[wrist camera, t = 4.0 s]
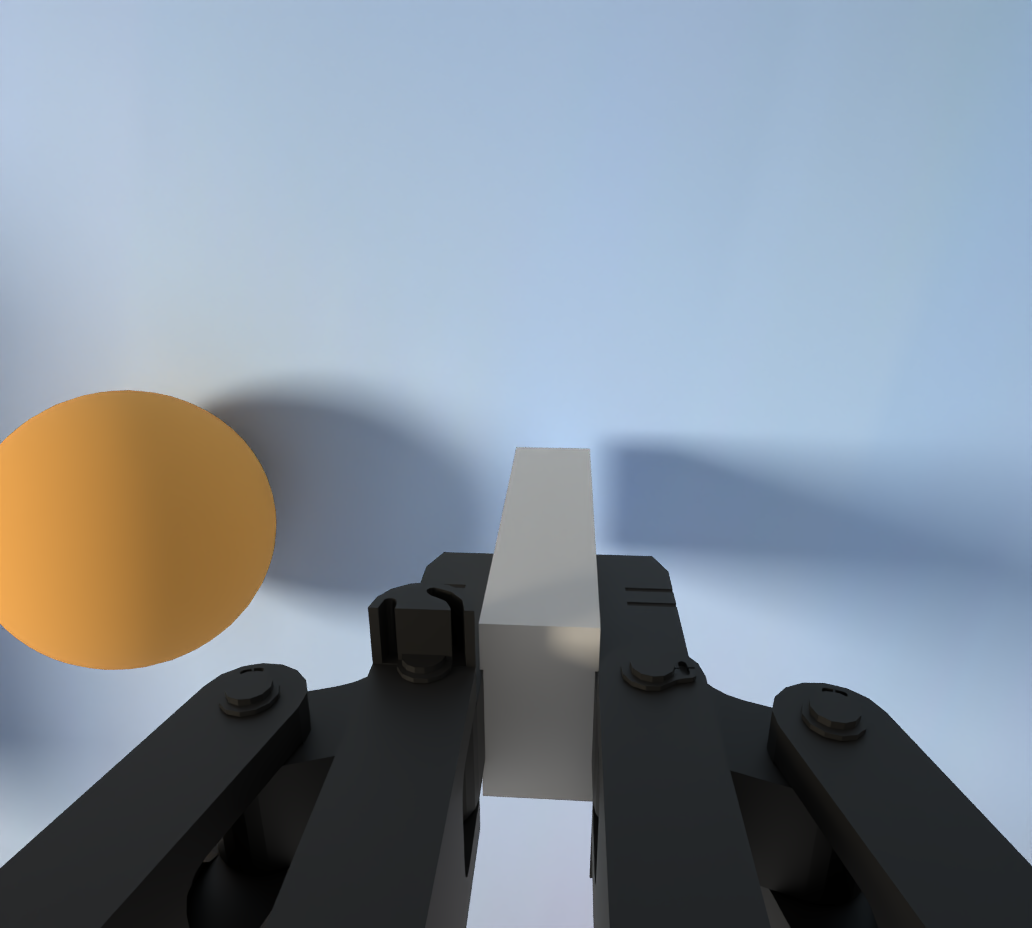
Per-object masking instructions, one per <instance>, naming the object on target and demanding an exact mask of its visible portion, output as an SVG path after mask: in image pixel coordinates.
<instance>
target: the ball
mask: <svg viewBox="0 0 1032 928" xmlns="http://www.w3.org/2000/svg"><path fill="white" fill-rule="evenodd" d="M275 536H276V510H275V504H274V499H273V494H272V491H271V488H270V485H269V482H268V479H267V476H266V474H265V472H264V470H263V468H262V466H261V464H260V462H259V461H258V459H257V457H256V456H255V454H254V453H253V451H252V450H251V449H250V447H249V446H248V445H247V444H246V442H245V441H244V440H243V439H242V438H241V437H240V436H239V435H238V434H237V433H236V432H235V431H234V430H233V429H232V428H231V427H229V426H228V425H227V424H225V423H224V422H223V421H222V420H220V419H219V418H217V417H216V416H214V415H212V414H211V413H209V412H208V411H206V410H204V409H202V408H200V407H197V406H195V405H193V404H191V403H189V402H186V401H183V400H180V399H178V398H175V397H172V396H167V395H163V394H158V393H152V392H143V391H131V390H124V391H108V392H99V393H94V394H89V395H84V396H80V397H77V398H74V399H71V400H68V401H65V402H62V403H60V404H57V405H54V406H53V407H51V408H49V409H47V410H45V411H43V412H41V413H40V414H38V415H36V416H34V417H32V418H31V419H29V420H28V421H26V422H25V423H24V424H22V425H21V426H20V427H19V428H17V429H16V430H15V431H14V432H12V433H11V434H10V435H9V436H8V437H7V438H6V439H5V440H4V441H3V442H2V443H1V444H0V624H1V625H2V626H3V627H4V628H5V629H6V630H7V631H8V632H10V633H11V634H12V635H13V636H14V637H16V638H17V639H18V640H20V641H21V642H23V643H24V644H26V645H27V646H28V647H30V648H32V649H34V650H36V651H37V652H39V653H41V654H43V655H46V656H48V657H50V658H53V659H55V660H58V661H61V662H64V663H68V664H72V665H77V666H82V667H87V668H94V669H104V670H116V669H133V668H141V667H147V666H151V665H155V664H158V663H162V662H166V661H170V660H173V659H175V658H178V657H180V656H182V655H185V654H187V653H189V652H191V651H193V650H195V649H197V648H199V647H201V646H202V645H204V644H206V643H207V642H209V641H211V640H212V639H213V638H215V637H216V636H217V635H219V634H220V633H221V632H223V631H224V630H225V629H226V628H227V627H229V626H230V625H231V624H232V623H233V622H234V621H235V620H236V619H237V618H238V616H239V615H240V614H241V613H242V612H243V611H244V610H245V609H246V607H247V606H248V605H249V604H250V602H251V600H252V599H253V597H254V596H255V594H256V592H257V591H258V589H259V588H260V586H261V584H262V583H263V580H264V578H265V575H266V573H267V571H268V568H269V565H270V562H271V559H272V555H273V551H274V546H275Z"/></svg>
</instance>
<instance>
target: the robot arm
mask: <svg viewBox="0 0 1032 928" xmlns="http://www.w3.org/2000/svg"><path fill="white" fill-rule="evenodd" d="M368 612H369V624H370V636H371V648H372V660H373V664H372V667H371V669H370V672H369V674H368V677H366V678H363V679H361V680H358V681H356V682H353V683H349V684H345V685H341V686H336V687H331V688H325V689H319V690H313V691H307V684H306V680H305V679H304V677H303V676H302V675H301V674H300V673H299V672H298V671H297V670H295V669H292V668H290V667H287V666H285V665H281V664H266V663H262V664H254V665H248V666H243V667H240V668H237V669H235V670H232V671H229V672H227V673H224V674H221V675H220V676H218V677H217V678H215V679H214V680H213V681H211V682H210V683H208V684H207V685H205V686H204V687H203V688H202V689H200V690H199V691H198V692H197V693H196V694H195V695H194V696H193V697H191V698H190V699H189V700H188V701H187V702H186V703H185V704H184V705H183V706H181V707H180V708H179V709H178V710H177V711H176V712H175V713H174V714H172V715H171V716H170V717H169V718H168V719H167V720H166V721H165V722H164V723H162V724H161V725H160V726H159V727H158V728H157V729H156V730H155V731H153V732H152V733H151V734H150V735H149V736H148V737H147V738H146V739H144V740H143V741H142V742H141V743H140V744H139V745H138V746H137V747H136V748H134V749H133V750H132V751H131V752H130V753H129V754H128V755H127V756H125V757H124V758H123V759H122V760H121V761H120V762H119V763H118V764H116V765H115V766H114V767H113V768H112V769H111V770H110V771H109V772H108V773H106V774H105V775H104V776H103V777H102V778H101V779H100V780H99V781H97V782H96V783H95V784H94V785H93V786H92V787H91V788H90V789H89V790H87V791H86V792H85V793H84V794H83V795H82V796H81V797H80V798H78V799H77V800H76V801H75V802H74V803H73V804H72V805H71V806H69V807H68V808H67V809H66V810H65V811H64V812H63V813H62V814H61V815H59V816H58V817H57V818H56V819H55V820H54V821H53V822H52V823H50V824H49V825H48V826H47V827H46V828H45V829H44V830H43V831H41V832H40V833H39V834H38V835H37V836H36V837H35V838H34V839H33V840H31V841H30V842H29V843H28V844H27V845H26V846H25V847H24V848H22V849H21V850H20V851H19V852H18V853H17V854H16V855H15V856H14V857H12V858H11V859H10V860H9V861H8V862H7V863H6V864H5V865H3V866H2V867H1V868H0V928H466V925H467V918H468V911H469V903H470V896H471V889H472V882H473V875H474V868H475V861H476V854H477V847H478V839H479V832H480V804H479V797H480V790H481V784H482V777H483V796H497V797H516V798H536V799H555V800H574V801H593V809H592V833H591V857H590V878H593V918H594V928H1032V866H1031V864H1030V863H1029V862H1028V861H1027V860H1026V859H1025V858H1024V857H1023V856H1022V855H1021V854H1020V853H1019V852H1018V851H1017V850H1016V849H1015V848H1014V847H1013V845H1012V844H1011V843H1010V842H1009V841H1008V840H1007V839H1006V838H1005V837H1004V836H1003V835H1002V834H1001V833H1000V832H999V831H998V830H997V829H996V828H995V827H994V825H993V824H992V823H991V822H990V821H989V820H988V819H987V818H986V817H985V816H984V815H983V814H982V813H981V812H980V811H979V810H978V809H977V808H976V806H975V805H974V804H973V803H972V802H971V801H970V800H969V799H968V798H967V797H966V796H965V795H964V794H963V793H962V792H961V791H960V790H959V789H958V787H957V786H956V785H955V784H954V783H953V782H952V781H951V780H950V779H949V778H948V777H947V776H946V775H945V774H944V773H943V772H942V771H941V770H940V768H939V767H938V766H937V765H936V764H935V763H934V762H933V761H932V760H931V759H930V758H929V757H928V756H927V755H926V754H925V753H924V752H923V751H922V749H921V748H920V747H919V746H918V745H917V744H916V743H915V742H914V741H913V740H912V739H911V738H910V737H909V736H908V735H907V734H906V733H905V732H904V731H903V729H902V728H901V727H900V726H899V725H898V724H897V723H896V722H895V721H894V720H893V719H892V718H891V717H890V716H889V715H888V714H887V713H886V712H885V711H884V710H883V709H881V708H880V707H879V706H878V705H876V704H875V703H874V702H873V701H871V700H870V699H869V698H867V697H864V696H862V695H860V694H858V693H856V692H854V691H852V690H849V689H847V688H843V687H839V686H834V685H830V684H826V683H800V684H797V685H793V686H790V687H786V688H785V689H783V690H782V691H781V692H780V693H779V694H778V695H777V696H775V698H774V703H773V708H771V707H767V706H763V705H759V704H755V703H751V702H748V701H744V700H741V699H738V698H735V697H732V696H729V695H726V694H724V693H722V692H721V691H719V690H717V689H715V688H713V687H712V686H710V685H709V684H707V680H706V676H705V675H704V673H703V671H702V669H701V668H700V666H699V664H698V663H696V662H695V661H694V660H693V659H691V658H690V657H689V656H688V652H687V647H686V643H685V639H684V635H683V631H682V627H681V623H680V618H679V614H678V610H677V607H676V602H675V598H674V593H673V592H672V585H671V581H670V577H669V573H668V571H667V570H666V569H665V568H664V567H663V566H662V565H661V564H660V563H659V562H658V561H657V560H656V559H654V558H653V557H652V556H626V555H596V544H595V528H594V511H593V494H592V477H591V460H590V449H579V448H530V447H516V451H515V456H514V461H513V465H512V470H511V475H510V479H509V484H508V489H507V493H506V498H505V503H504V508H503V512H502V517H501V522H500V526H499V531H498V536H497V540H496V545H495V550H494V554H485V553H452V552H444V553H443V554H441V555H440V556H439V557H438V558H436V559H435V560H434V561H433V562H432V563H430V564H429V565H428V566H427V567H426V570H425V572H424V575H423V577H422V580H421V583H414V584H408V585H404V586H400V587H396V588H393V589H391V590H389V591H387V592H385V593H383V594H381V595H380V596H378V597H377V598H376V599H375V600H374V601H373V602H372V603H371V605H370V606H369V607H368Z"/></svg>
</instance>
